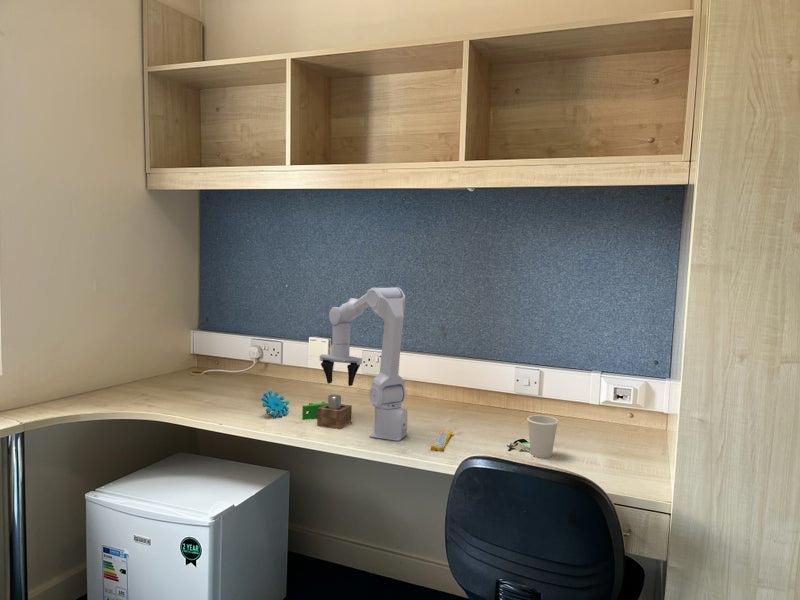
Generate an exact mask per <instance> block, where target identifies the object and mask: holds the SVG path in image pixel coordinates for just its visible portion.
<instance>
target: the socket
mask: <svg viewBox="0 0 800 600" xmlns="http://www.w3.org/2000/svg"><path fill="white" fill-rule="evenodd" d="M326 403H327V404H325V405H323V406H321V407H319V408H317V418H316V424H317V425H316V426H318V427H322V426H323V427H324V428H329V429H330V428H332V429H336V428H337V429H338V430H341V429H343V428H345V427H346V426H348V425H350V424H351V423H352V415H353V412H352V409H353V408H352V407H353V405H352V404H343V403H341V409H339V410H336V409H328V402H326ZM344 426H345V427H344Z"/></svg>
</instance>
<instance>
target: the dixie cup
mask: <svg viewBox="0 0 800 600" xmlns="http://www.w3.org/2000/svg"><path fill="white" fill-rule="evenodd" d="M526 420H527V423H528V426H527V427H528V435H529V452H530V455H531V456H532V455H533V456H532V457H534V456H536V457H535V458H538V457H539V459H550V458H551V457H552V456H553V452H554V451H553V450H554V444H555V439H556V434H557V433H556V432H557V428H558V424H559V420H558V419H557V418H556V417H554V416H549V415H543V414H542V415H541V414H535V415H530V416H528V417H527V419H526Z"/></svg>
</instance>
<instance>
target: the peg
mask: <svg viewBox="0 0 800 600" xmlns="http://www.w3.org/2000/svg"><path fill="white" fill-rule="evenodd" d="M327 403H328V409H336V410H339V409H341V404H342V395H340V394H330V395H329V394H328V396H327Z"/></svg>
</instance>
